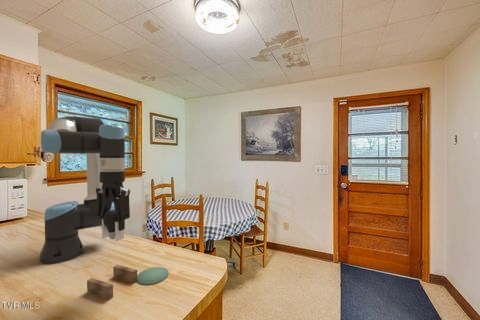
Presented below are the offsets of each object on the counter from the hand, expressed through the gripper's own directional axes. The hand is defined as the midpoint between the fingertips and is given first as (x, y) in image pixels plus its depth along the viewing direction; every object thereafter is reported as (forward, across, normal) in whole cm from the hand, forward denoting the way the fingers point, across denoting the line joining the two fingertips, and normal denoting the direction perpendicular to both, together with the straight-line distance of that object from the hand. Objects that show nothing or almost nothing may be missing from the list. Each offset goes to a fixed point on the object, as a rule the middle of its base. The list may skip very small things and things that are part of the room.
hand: (112, 238), depth 74 cm
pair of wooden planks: (+17, 0, 0) cm, 17 cm away
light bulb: (+1, 0, 0) cm, 1 cm away
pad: (+17, +8, +10) cm, 21 cm away
